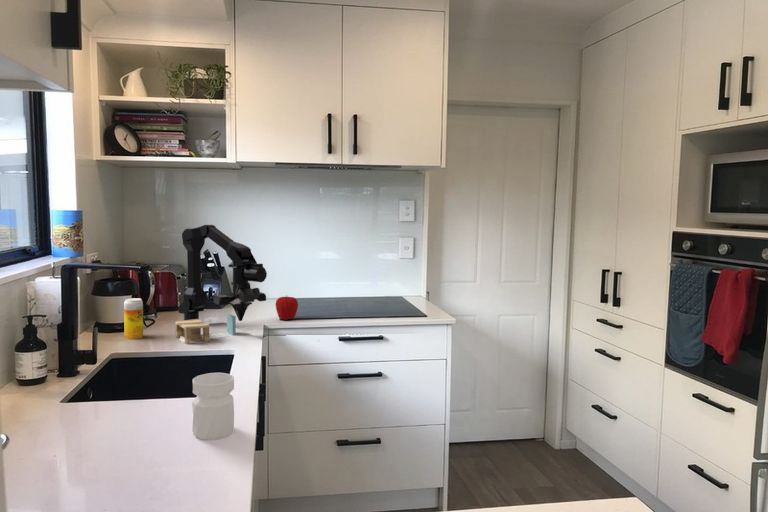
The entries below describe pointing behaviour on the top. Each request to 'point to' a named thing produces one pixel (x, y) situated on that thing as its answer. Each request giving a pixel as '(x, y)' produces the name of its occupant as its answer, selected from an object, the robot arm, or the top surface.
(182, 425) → the top surface
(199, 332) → the block
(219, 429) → the pill bottle
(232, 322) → the sled
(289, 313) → the apple
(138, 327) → the beer can
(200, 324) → the tunnel
